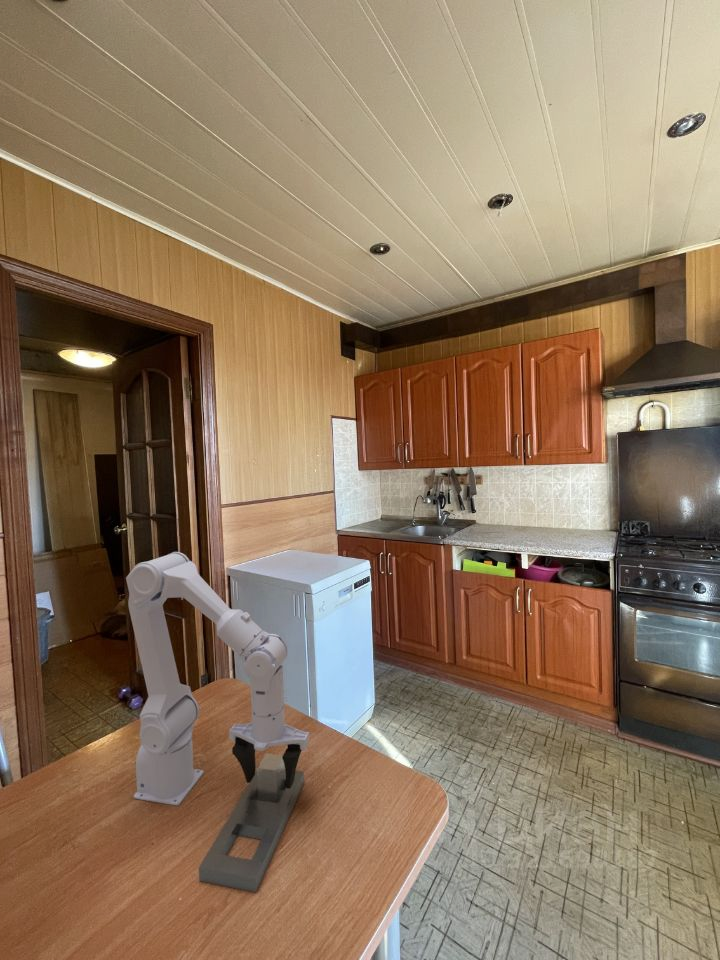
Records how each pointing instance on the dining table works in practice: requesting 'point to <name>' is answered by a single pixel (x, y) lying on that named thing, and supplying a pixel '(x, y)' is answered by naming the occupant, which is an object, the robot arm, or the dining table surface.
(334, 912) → the dining table surface
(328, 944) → the dining table surface
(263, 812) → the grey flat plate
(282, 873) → the dining table surface
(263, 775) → the grey square peg
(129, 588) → the robot arm
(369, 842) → the dining table surface
